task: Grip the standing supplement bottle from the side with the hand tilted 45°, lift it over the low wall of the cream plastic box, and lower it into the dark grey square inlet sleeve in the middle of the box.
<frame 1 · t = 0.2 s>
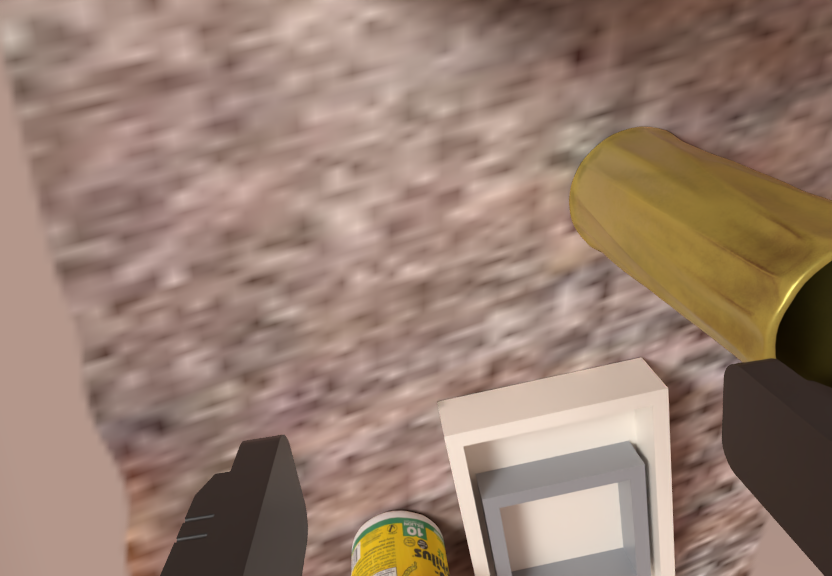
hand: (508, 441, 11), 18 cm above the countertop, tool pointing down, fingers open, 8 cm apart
vase: (630, 191, 28), on the countertop
supplement bottle: (398, 539, 36), on the countertop
walled box: (557, 508, 35), on the countertop
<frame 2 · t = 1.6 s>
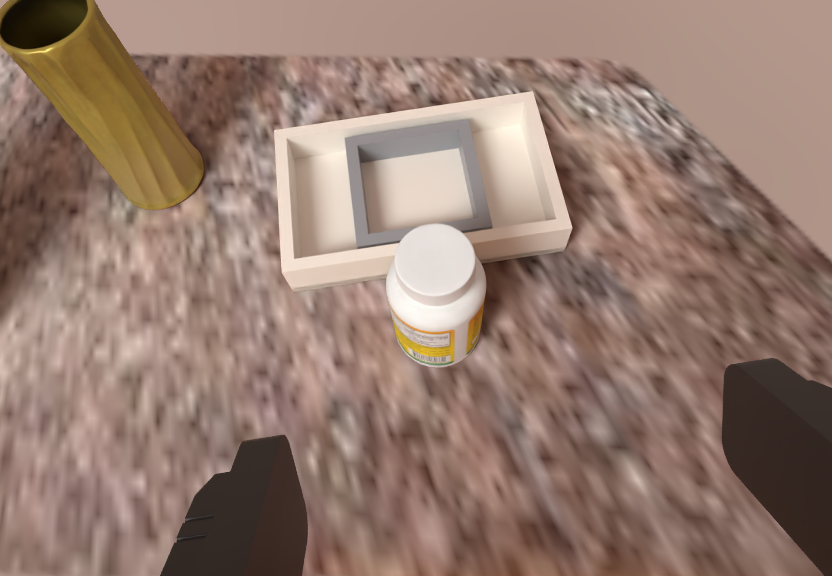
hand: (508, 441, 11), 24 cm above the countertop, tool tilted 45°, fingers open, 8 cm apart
vase: (164, 177, 44), on the countertop
supplement bottle: (438, 329, 38), on the countertop
walled box: (417, 201, 42), on the countertop
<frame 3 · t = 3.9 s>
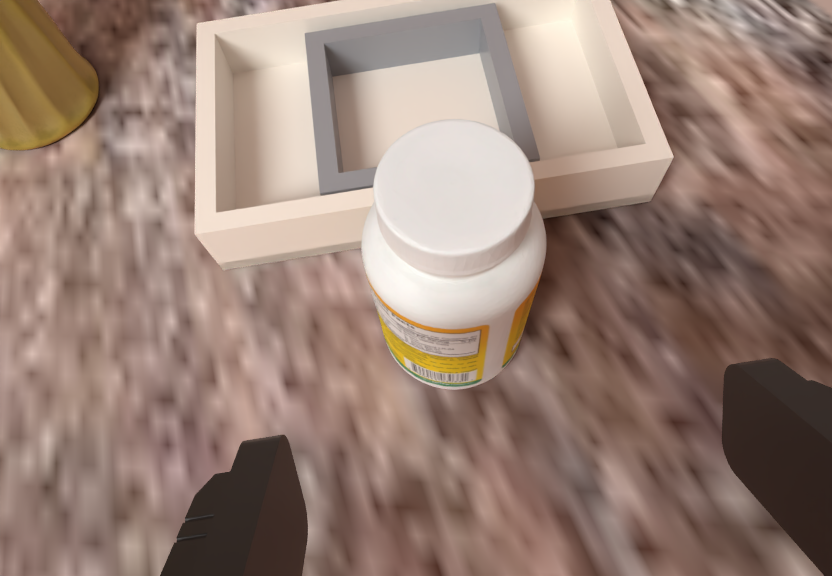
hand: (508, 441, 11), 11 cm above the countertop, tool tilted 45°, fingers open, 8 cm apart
vase: (42, 105, 30), on the countertop
supplement bottle: (453, 326, 24), on the countertop
walled box: (417, 131, 27), on the countertop
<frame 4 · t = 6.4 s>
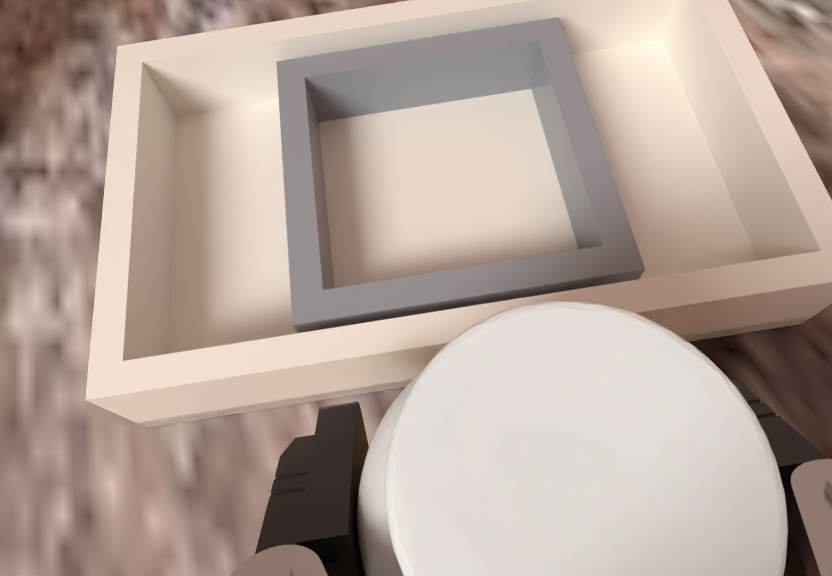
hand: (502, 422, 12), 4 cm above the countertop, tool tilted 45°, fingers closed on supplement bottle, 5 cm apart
supplement bottle: (504, 533, 15), on the countertop, touching gripper
walled box: (442, 205, 19), on the countertop
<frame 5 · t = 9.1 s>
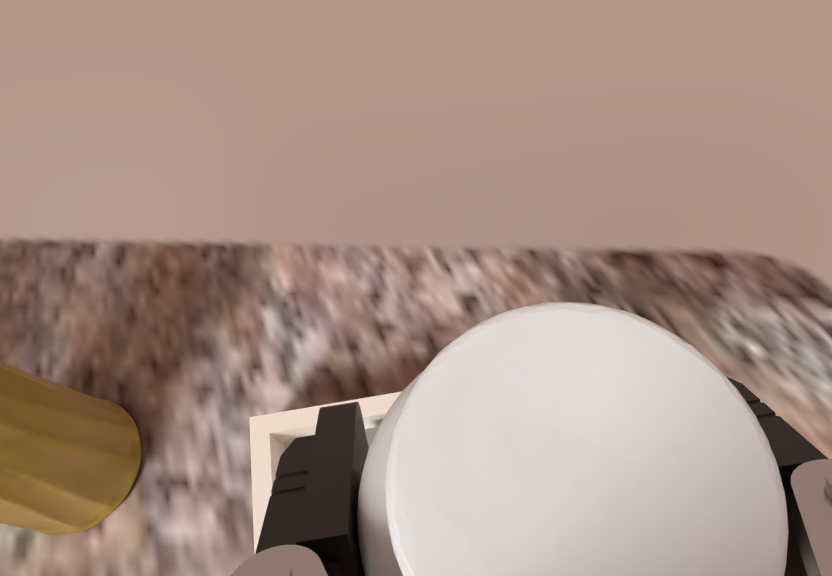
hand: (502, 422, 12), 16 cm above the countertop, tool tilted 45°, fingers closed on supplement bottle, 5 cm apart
vase: (81, 464, 28), on the countertop
supplement bottle: (505, 533, 15), point 11 cm above the countertop, touching gripper
walled box: (485, 525, 26), on the countertop
when the fingers open (6 cm above the countertop, at t = 12.2 s): supplement bottle stays where it is, resting on walled box.
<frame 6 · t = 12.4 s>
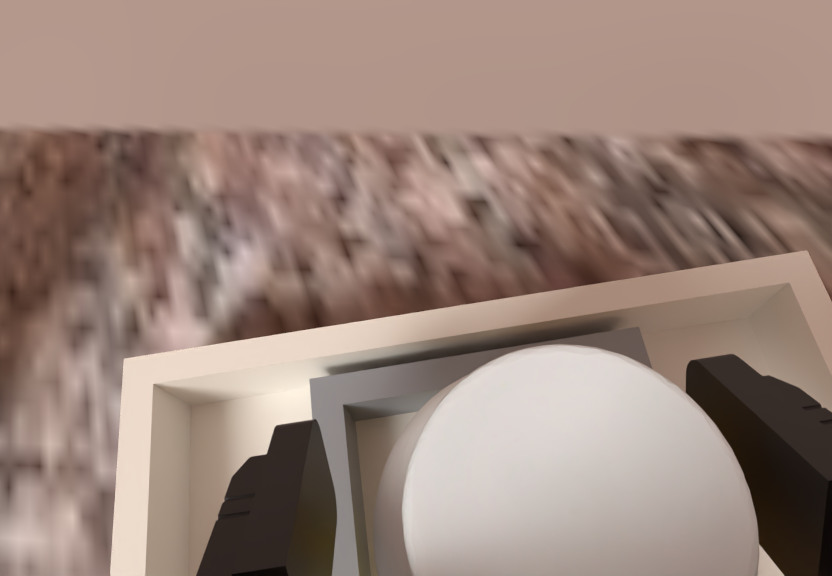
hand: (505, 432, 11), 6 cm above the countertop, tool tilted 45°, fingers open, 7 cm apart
supplement bottle: (508, 541, 16), resting on walled box
walled box: (501, 535, 16), on the countertop
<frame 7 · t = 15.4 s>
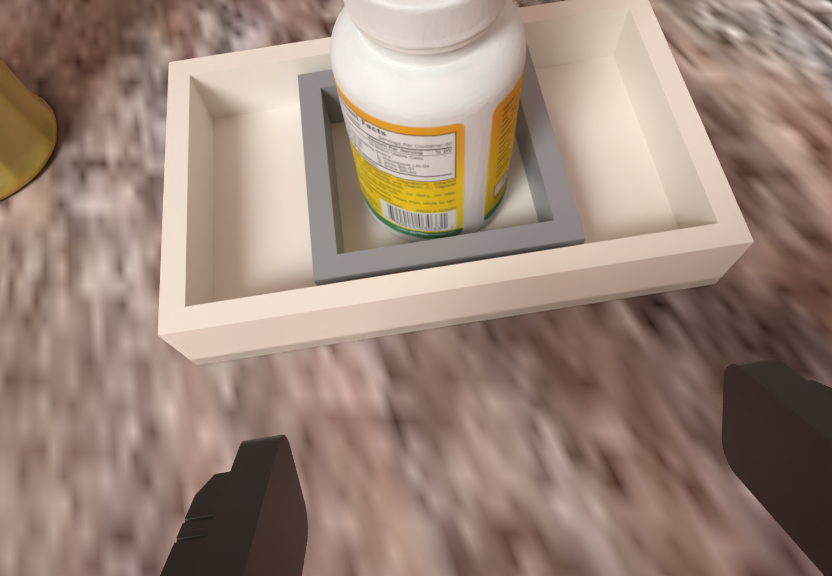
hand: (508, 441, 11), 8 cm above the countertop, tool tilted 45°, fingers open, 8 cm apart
supplement bottle: (435, 189, 23), resting on walled box
walled box: (432, 191, 23), on the countertop
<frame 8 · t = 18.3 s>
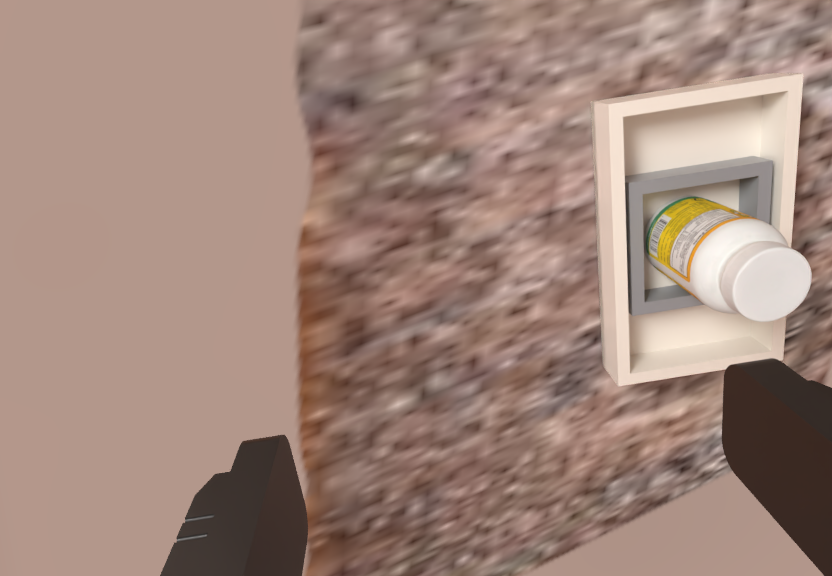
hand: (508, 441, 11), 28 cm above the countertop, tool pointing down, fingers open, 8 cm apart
supplement bottle: (680, 234, 39), resting on walled box
walled box: (680, 230, 39), on the countertop
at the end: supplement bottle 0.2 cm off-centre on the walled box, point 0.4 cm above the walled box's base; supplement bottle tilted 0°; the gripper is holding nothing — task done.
